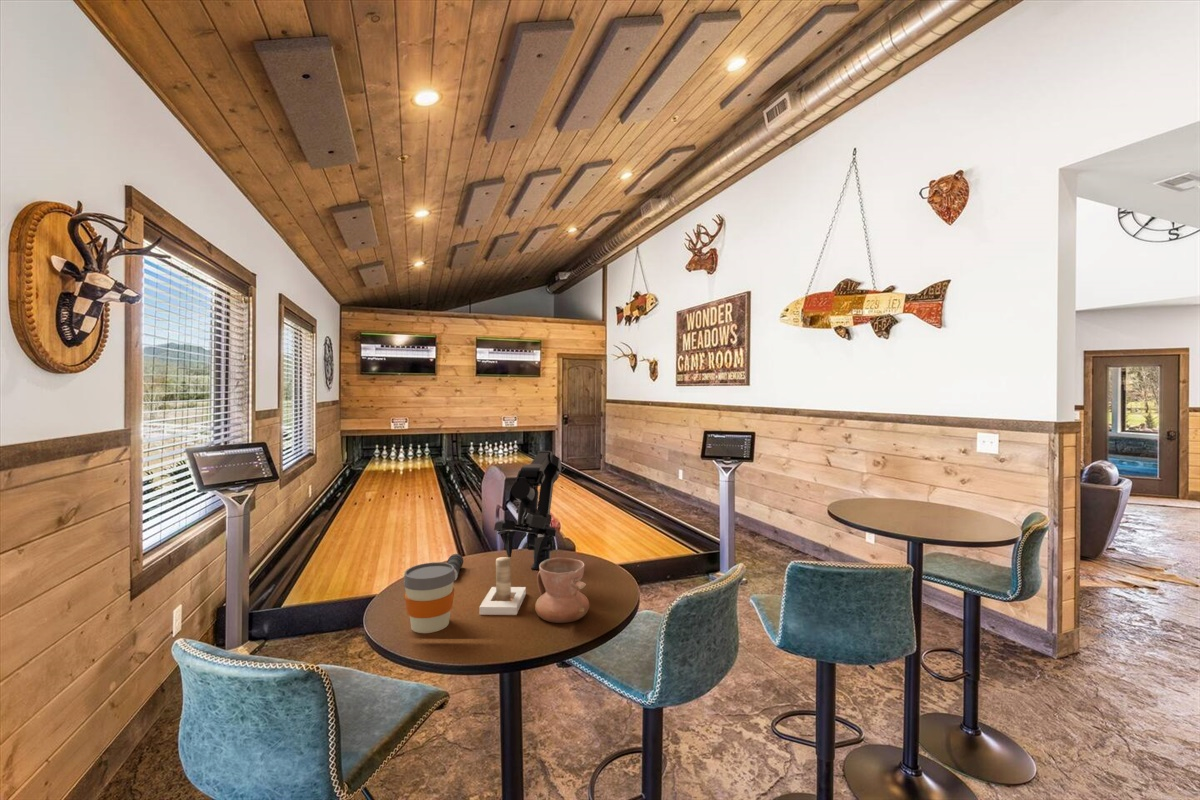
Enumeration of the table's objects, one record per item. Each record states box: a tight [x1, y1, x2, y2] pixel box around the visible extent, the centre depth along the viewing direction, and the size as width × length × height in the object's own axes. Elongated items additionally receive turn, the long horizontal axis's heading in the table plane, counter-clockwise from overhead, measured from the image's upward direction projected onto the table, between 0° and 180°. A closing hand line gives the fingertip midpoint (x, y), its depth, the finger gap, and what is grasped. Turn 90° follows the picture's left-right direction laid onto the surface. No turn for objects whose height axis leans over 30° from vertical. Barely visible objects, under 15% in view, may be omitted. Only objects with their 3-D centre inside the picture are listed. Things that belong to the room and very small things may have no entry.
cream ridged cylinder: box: [495, 556, 512, 601], centre depth 144 cm, size 4×4×12 cm
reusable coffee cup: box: [403, 561, 456, 634], centre depth 131 cm, size 13×13×15 cm
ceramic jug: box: [534, 557, 590, 624], centre depth 138 cm, size 18×14×14 cm
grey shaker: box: [446, 553, 464, 581], centre depth 170 cm, size 15×5×5 cm, turn 7°
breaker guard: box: [478, 586, 527, 616], centre depth 144 cm, size 14×10×3 cm
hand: (523, 558), depth 154 cm, fingers open, 9 cm apart
